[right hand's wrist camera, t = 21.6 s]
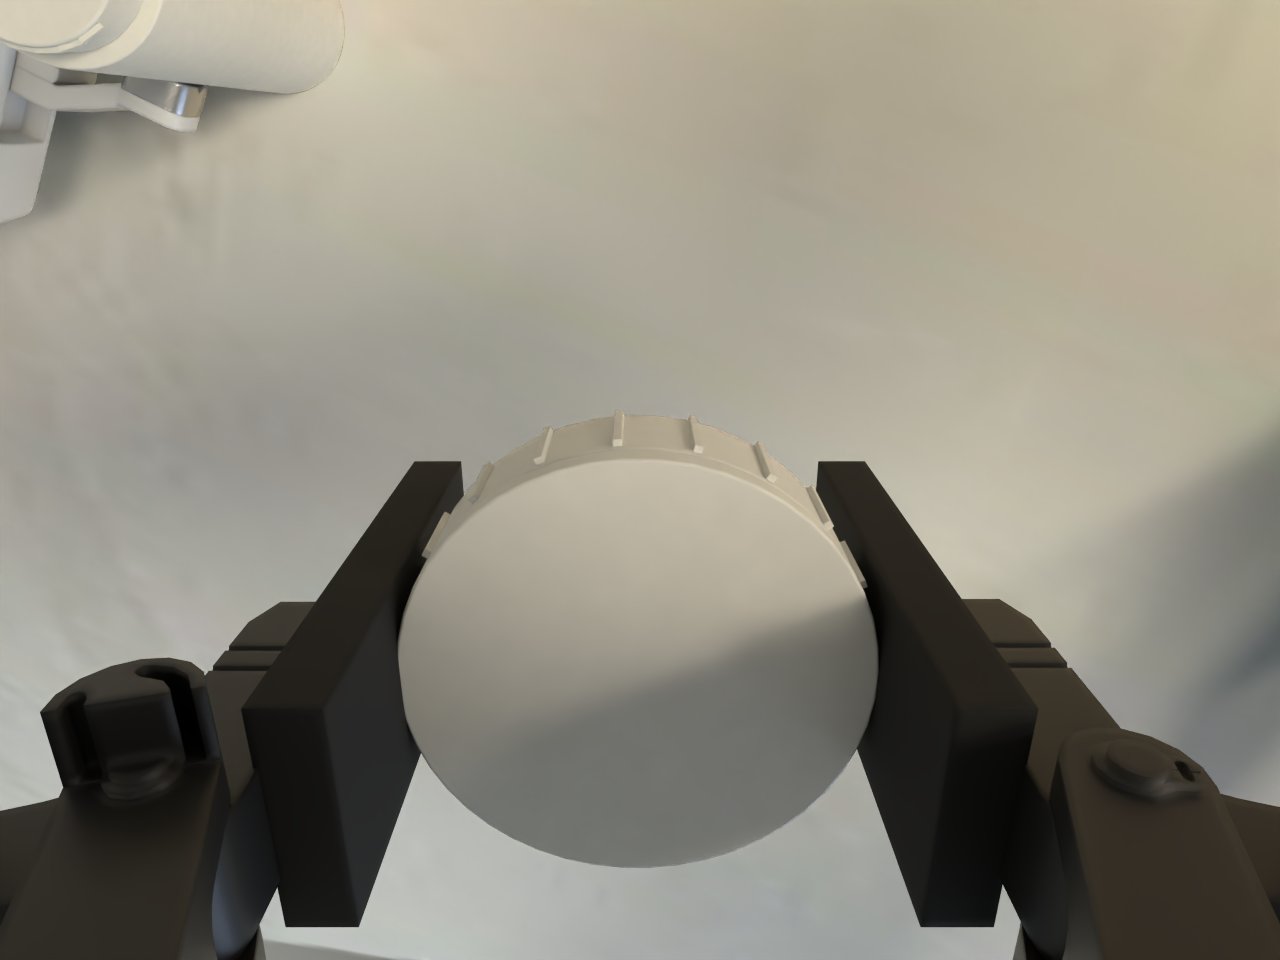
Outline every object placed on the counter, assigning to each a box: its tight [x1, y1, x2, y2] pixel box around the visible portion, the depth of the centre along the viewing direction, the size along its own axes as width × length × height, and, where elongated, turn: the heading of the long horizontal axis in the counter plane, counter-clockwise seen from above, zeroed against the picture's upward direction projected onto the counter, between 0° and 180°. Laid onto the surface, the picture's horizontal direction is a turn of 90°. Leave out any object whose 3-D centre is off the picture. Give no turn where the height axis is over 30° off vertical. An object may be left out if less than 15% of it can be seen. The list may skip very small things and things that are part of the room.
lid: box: [397, 411, 879, 868], centre depth 11 cm, size 6×6×2 cm
